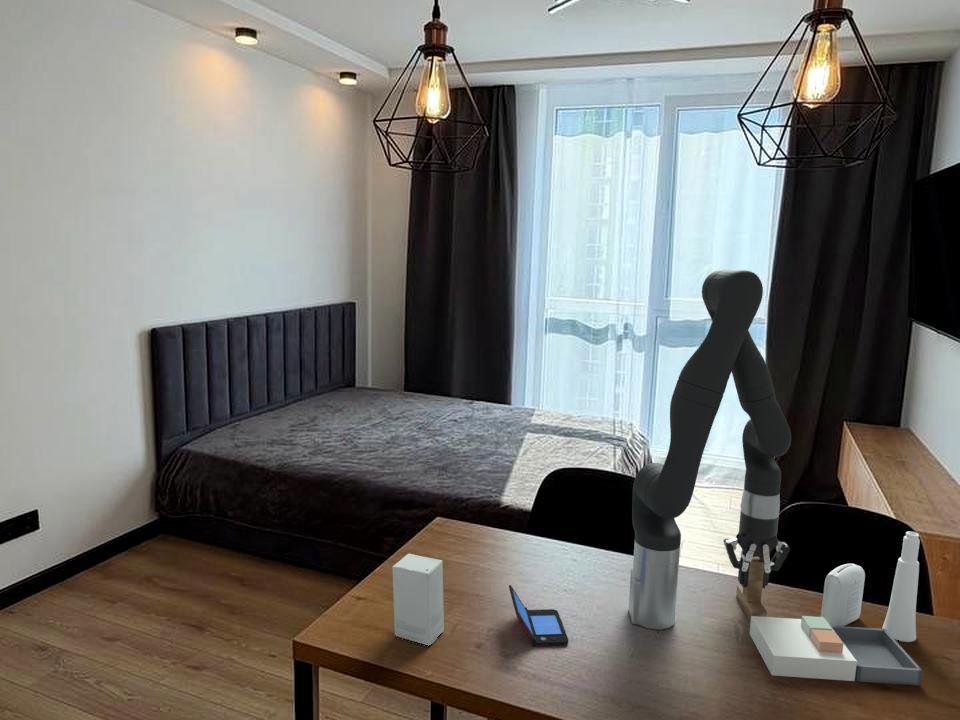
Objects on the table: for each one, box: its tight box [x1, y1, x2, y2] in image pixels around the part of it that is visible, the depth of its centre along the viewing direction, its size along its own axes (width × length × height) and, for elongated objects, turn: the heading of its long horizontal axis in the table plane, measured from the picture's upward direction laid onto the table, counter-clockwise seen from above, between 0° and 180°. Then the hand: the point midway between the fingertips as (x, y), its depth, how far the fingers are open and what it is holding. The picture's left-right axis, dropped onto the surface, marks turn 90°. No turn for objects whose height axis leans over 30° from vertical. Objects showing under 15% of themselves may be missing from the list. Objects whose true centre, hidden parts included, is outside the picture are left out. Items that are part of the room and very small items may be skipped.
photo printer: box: [820, 563, 866, 627], centre depth 145 cm, size 10×4×12 cm, turn 123°
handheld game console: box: [508, 584, 569, 648], centre depth 139 cm, size 12×11×7 cm
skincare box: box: [392, 553, 445, 647], centre depth 136 cm, size 8×7×16 cm
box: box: [831, 625, 923, 686], centre depth 131 cm, size 11×14×3 cm
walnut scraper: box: [735, 557, 768, 624], centre depth 148 cm, size 3×11×12 cm, turn 175°
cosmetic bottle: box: [881, 531, 921, 643], centre depth 139 cm, size 6×6×22 cm
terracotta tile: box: [810, 629, 844, 653], centre depth 129 cm, size 4×4×2 cm
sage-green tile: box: [800, 615, 833, 637], centre depth 134 cm, size 4×4×2 cm
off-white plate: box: [749, 616, 857, 682], centre depth 132 cm, size 15×14×4 cm
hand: (752, 585), depth 148 cm, fingers open, 3 cm apart
